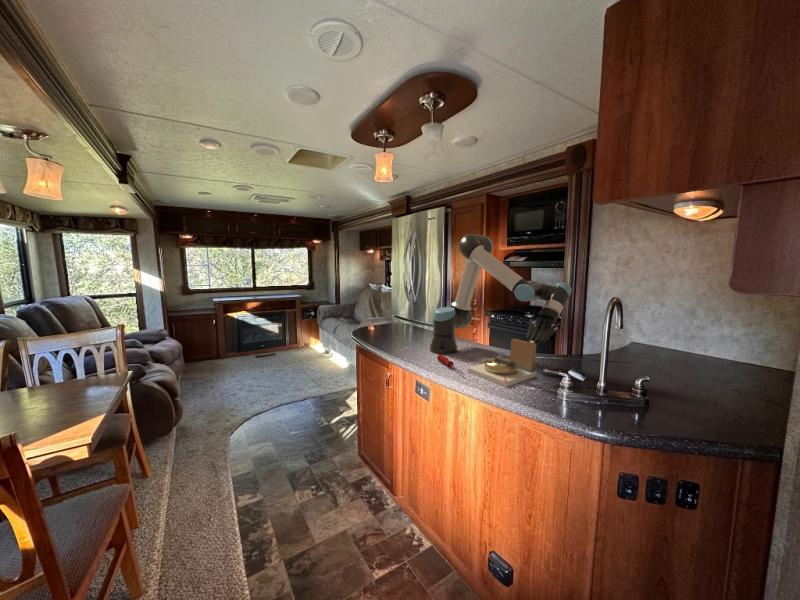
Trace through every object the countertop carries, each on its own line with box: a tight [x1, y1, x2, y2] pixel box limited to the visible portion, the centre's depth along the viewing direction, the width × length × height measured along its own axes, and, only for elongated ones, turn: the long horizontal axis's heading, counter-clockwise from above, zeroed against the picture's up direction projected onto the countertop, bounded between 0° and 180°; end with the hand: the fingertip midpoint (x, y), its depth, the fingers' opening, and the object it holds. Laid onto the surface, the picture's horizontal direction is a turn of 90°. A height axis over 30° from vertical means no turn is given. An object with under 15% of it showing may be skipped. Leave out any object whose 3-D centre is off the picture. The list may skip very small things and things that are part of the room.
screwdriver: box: [436, 353, 465, 375], centre depth 146 cm, size 4×25×4 cm, turn 17°
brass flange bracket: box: [484, 338, 537, 375], centre depth 134 cm, size 22×14×15 cm, turn 35°
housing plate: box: [467, 362, 536, 388], centre depth 138 cm, size 20×20×2 cm
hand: (526, 354), depth 133 cm, fingers closed
